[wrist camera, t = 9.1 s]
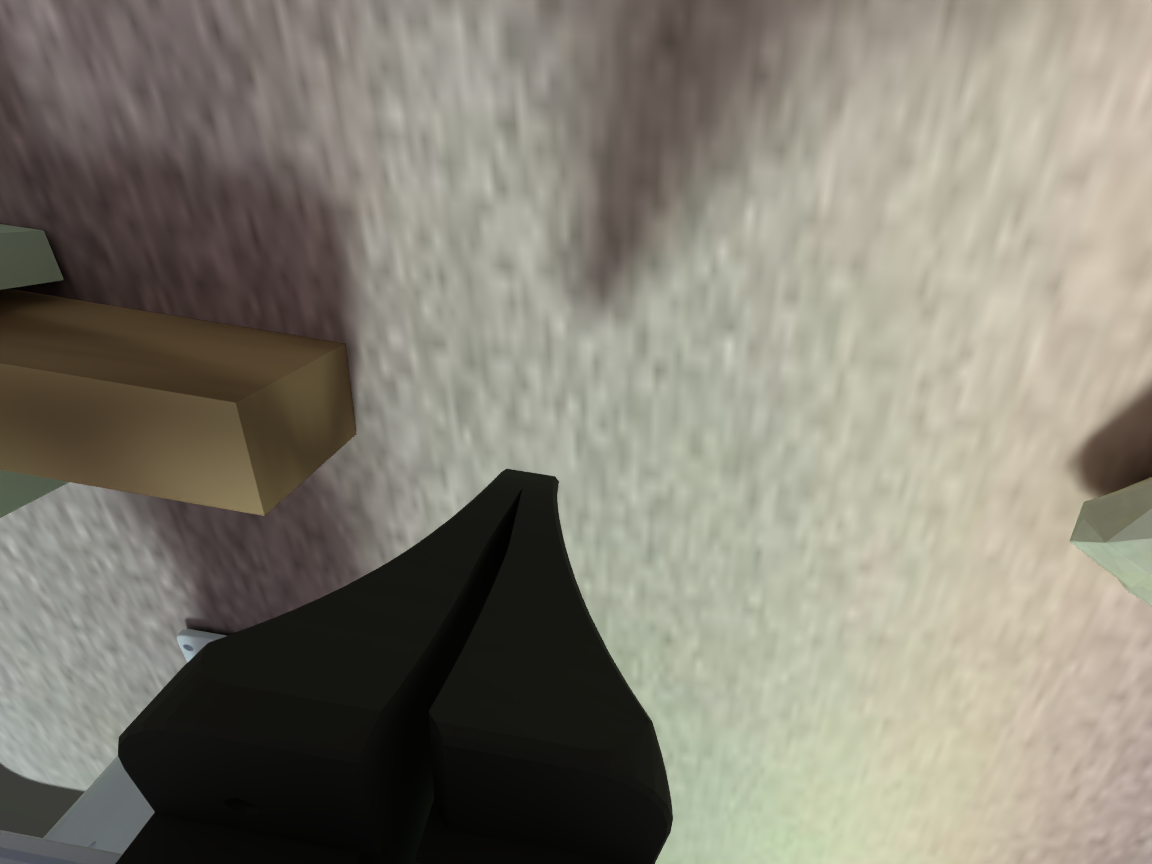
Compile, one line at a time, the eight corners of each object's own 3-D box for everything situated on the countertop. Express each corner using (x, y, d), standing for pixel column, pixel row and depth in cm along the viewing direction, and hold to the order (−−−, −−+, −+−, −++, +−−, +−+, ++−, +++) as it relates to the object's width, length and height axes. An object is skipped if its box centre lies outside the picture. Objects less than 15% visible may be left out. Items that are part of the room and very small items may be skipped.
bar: (358, 431, 17) (264, 515, 12) (53, 380, 17) (-144, 444, 13) (348, 342, 15) (235, 402, 11) (10, 287, 16) (-233, 324, 11)
